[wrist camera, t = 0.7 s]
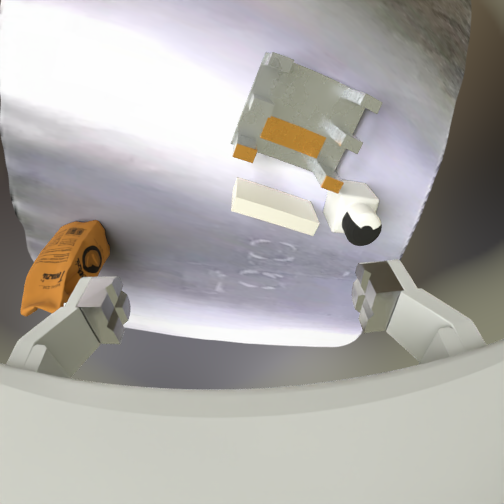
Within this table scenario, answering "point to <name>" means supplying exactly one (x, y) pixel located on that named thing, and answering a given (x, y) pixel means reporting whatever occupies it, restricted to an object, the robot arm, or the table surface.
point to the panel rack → (300, 119)
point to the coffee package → (64, 265)
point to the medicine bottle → (353, 213)
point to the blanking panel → (274, 206)
